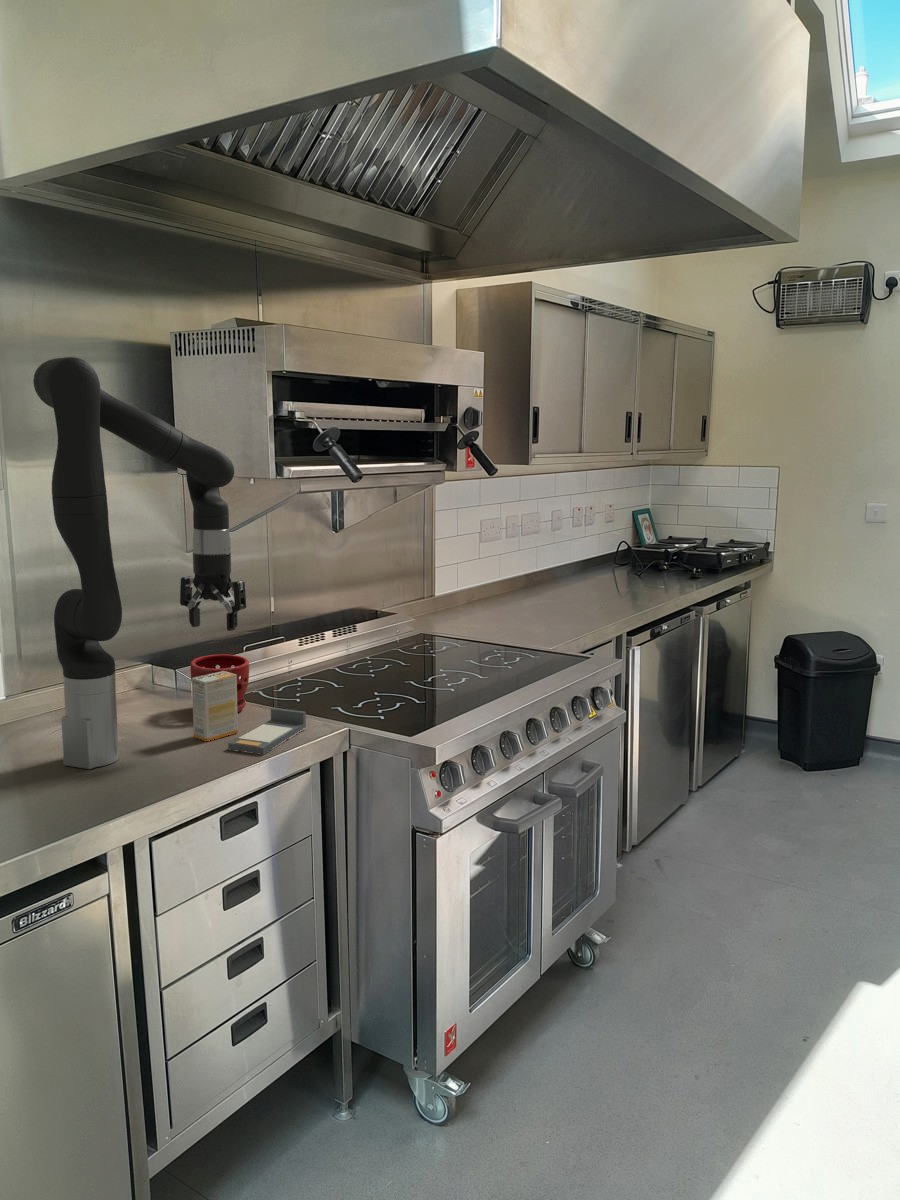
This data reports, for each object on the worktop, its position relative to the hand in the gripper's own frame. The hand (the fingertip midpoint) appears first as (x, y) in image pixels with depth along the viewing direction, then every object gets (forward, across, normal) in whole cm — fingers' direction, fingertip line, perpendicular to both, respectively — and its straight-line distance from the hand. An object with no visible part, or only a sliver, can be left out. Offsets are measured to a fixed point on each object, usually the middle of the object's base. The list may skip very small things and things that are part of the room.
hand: (213, 628), depth 186 cm
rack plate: (+23, +12, +2) cm, 26 cm away
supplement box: (+23, 0, 0) cm, 23 cm away
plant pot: (+23, -9, +16) cm, 30 cm away
